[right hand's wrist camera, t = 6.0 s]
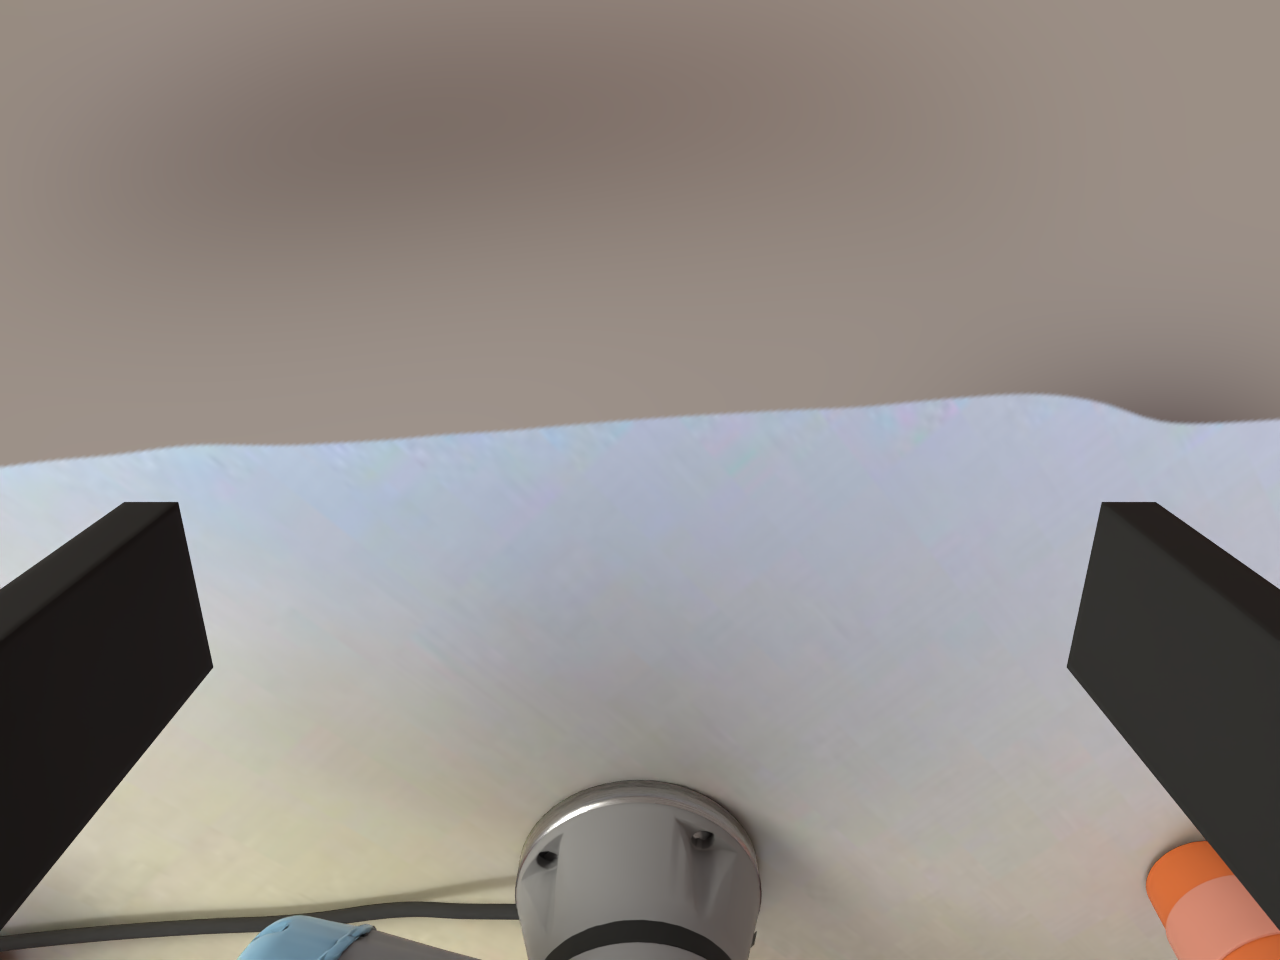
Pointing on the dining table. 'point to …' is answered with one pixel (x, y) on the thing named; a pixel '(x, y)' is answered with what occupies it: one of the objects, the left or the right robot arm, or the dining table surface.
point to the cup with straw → (1208, 908)
